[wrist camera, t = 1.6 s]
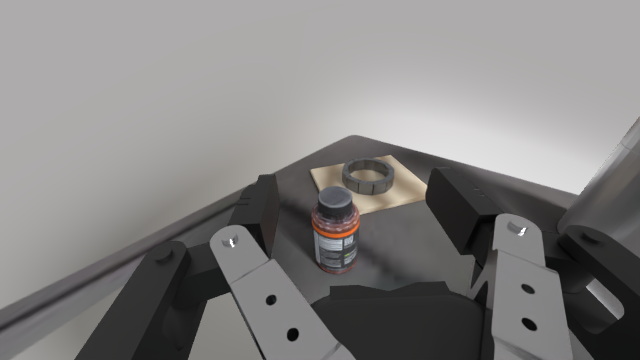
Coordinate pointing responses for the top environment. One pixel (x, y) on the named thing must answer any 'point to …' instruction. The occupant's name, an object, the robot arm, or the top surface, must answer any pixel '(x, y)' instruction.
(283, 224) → the top surface
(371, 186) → the metal collar
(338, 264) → the supplement bottle
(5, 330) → the top surface
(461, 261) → the top surface
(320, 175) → the birch board
